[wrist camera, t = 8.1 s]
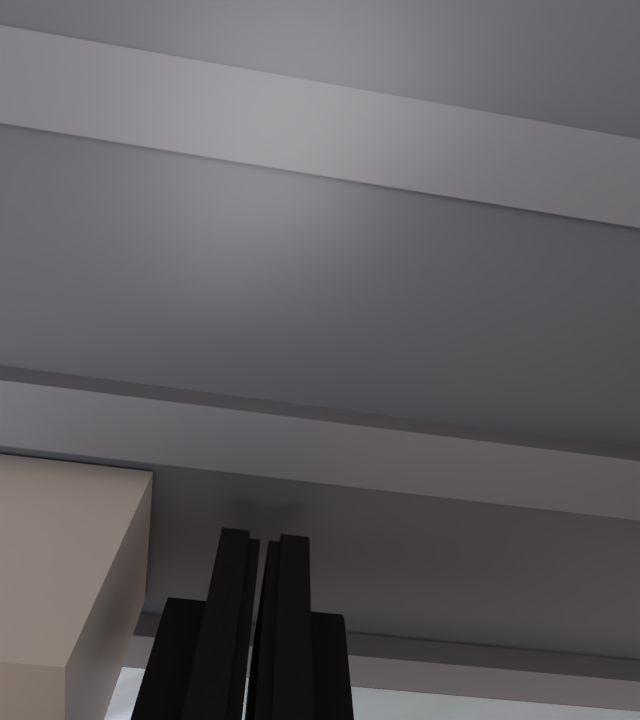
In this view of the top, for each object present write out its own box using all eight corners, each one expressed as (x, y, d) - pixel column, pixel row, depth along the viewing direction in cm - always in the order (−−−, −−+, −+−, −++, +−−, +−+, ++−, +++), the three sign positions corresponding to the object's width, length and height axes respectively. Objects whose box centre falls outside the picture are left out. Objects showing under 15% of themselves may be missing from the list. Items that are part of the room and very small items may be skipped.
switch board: (1213, -71, 10) (1466, -132, 8) (791, 657, 16) (869, 738, 14) (-258, -415, 8) (-466, -627, 6) (-124, 568, 14) (-204, 647, 12)
